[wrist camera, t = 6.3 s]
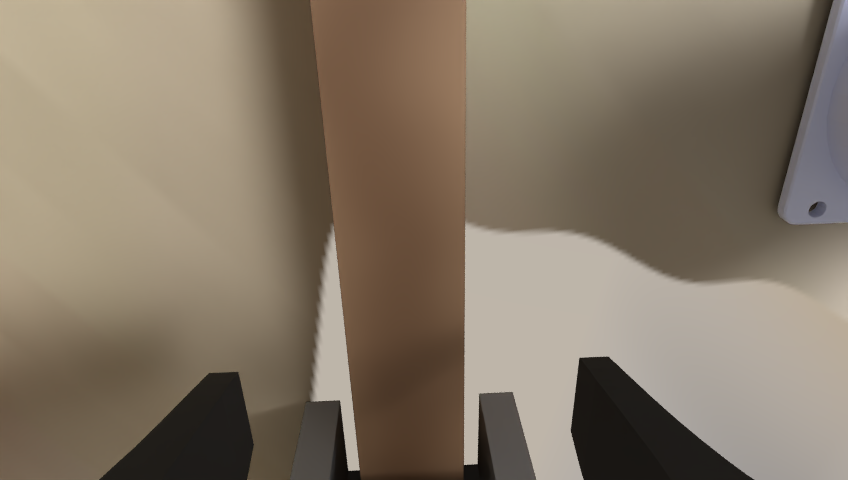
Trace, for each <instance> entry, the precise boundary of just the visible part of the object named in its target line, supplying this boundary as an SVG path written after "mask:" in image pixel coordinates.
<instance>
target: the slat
mask: <svg viewBox="0 0 848 480" xmlns="http://www.w3.org/2000/svg"><path fill="white" fill-rule="evenodd" d="M310 5H311V15H312V24H313V33H314V43H315V52H316V62H317V71H318V80H319V90H320V99H321V109H322V118H323V128H324V137H325V146H326V156H327V165H328V175H329V184H330V193H331V203H332V212H333V222H334V231H335V241H336V250H337V259H338V269H339V278H340V288H341V297H342V307H343V316H344V325H345V335H346V344H347V353H348V363H349V372H350V382H351V391H352V401H353V410H354V420H355V429H356V438H357V447H358V457H359V467H360V476H361V480H464V317H465V315H464V309H465V308H464V307H465V121H466V0H310Z"/></svg>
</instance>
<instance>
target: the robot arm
mask: <svg viewBox="0 0 848 480" xmlns="http://www.w3.org/2000/svg"><path fill="white" fill-rule="evenodd" d="M816 202H818V204H817V206H816V208H815V209H814V210H812V211H811V212H809V209H810V207H811V206H812V205H813V204H814V203H816ZM778 214H779V216H780V217H781V218H782V219H783V220H785V221H786V222H788V223H789V224H794V225H802V224H826V223H848V0H833V4H832V7H831V11H830V15H829V18H828V22H827V26H826V30H825V33H824V37H823V41H822V44H821V48H820V52H819V56H818V59H817V63H816V67H815V70H814V74H813V78H812V82H811V85H810V89H809V93H808V96H807V100H806V104H805V108H804V111H803V115H802V119H801V122H800V126H799V130H798V134H797V137H796V141H795V145H794V148H793V152H792V156H791V160H790V163H789V167H788V171H787V174H786V178H785V182H784V186H783V189H782V193H781V197H780V200H779V204H778ZM571 433H572V437H573V441H574V445H575V449H576V453H577V457H578V461H579V465H580V468H581V472H582V476H583V478H584V480H754V479H752V478H751V477H749V476H748V475H746V474H745V473H744V472H742V471H741V470H739V469H738V468H737V467H735V466H734V465H733V464H731V463H730V462H728V461H727V460H726V459H725V458H724V457H722V456H721V455H720V454H718V453H717V452H716V451H715V450H713V449H712V448H710V446H708V445H707V444H706V443H704V442H703V441H702V440H701V439H699V438H698V437H697V436H696V435H695V434H693V433H692V432H691V431H690V430H689V429H687V428H686V427H685V426H684V425H683V424H681V423H680V422H679V421H678V420H677V419H676V418H675V417H673V416H672V415H671V414H670V413H669V412H668V411H666V410H665V409H664V408H663V407H662V406H661V405H660V404H659V403H658V402H657V401H655V400H654V399H653V398H652V397H651V396H650V395H649V394H648V393H647V392H646V391H644V390H643V389H642V388H641V387H640V386H639V385H638V384H637V383H636V382H635V381H634V380H633V379H631V378H630V377H629V376H628V375H627V374H626V373H625V372H624V371H623V370H622V369H621V368H620V367H619V366H618V365H617V364H616V363H615V362H613V361H612V360H611V359H610V358H609V357H589V358H580V359H579V366H578V375H577V384H576V393H575V401H574V409H573V417H572V426H571ZM253 446H254V444H253V439H252V434H251V429H250V425H249V420H248V415H247V411H246V406H245V401H244V397H243V392H242V387H241V383H240V378H239V373H238V372H227V373H209V374H208V375H207V376H206V377H205V378H204V379H203V380H202V381H201V382H200V383H199V384H198V385H197V386H196V387H195V388H194V389H193V390H192V391H191V392H190V393H189V394H188V395H187V396H186V397H185V398H184V399H183V400H182V401H181V402H180V403H179V404H178V405H177V406H176V407H175V408H174V409H173V410H172V411H171V412H170V413H169V414H168V415H167V416H166V417H165V418H164V419H163V420H162V421H161V422H160V423H159V424H158V425H157V426H156V427H155V428H154V429H153V430H152V431H151V432H150V433H149V434H148V435H147V436H146V437H145V438H144V439H143V440H142V441H141V442H140V443H139V444H138V445H137V446H136V447H135V448H134V449H133V450H131V451H130V452H129V453H128V454H127V455H126V456H125V457H124V458H123V459H121V460H120V461H119V462H118V463H117V464H116V465H115V466H114V467H113V468H112V469H110V470H109V471H108V472H107V473H106V474H105V475H104V476H103V477H102V478H100V479H99V480H247V476H248V472H249V467H250V461H251V456H252V451H253Z"/></svg>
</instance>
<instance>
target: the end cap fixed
mask: <svg viewBox="0 0 848 480" xmlns="http://www.w3.org/2000/svg"><path fill="white" fill-rule="evenodd" d="M478 435H479V436H478V464H474V465H464V480H536V477H535V473H534V470H533V466H532V462H531V459H530V455H529V451H528V448H527V444H526V440H525V436H524V433H523V429H522V425H521V422H520V418H519V414H518V411H517V407H516V403H515V399H514V396H513V393H512V392H505V393H486V394H485V393H484V394H479V432H478ZM290 480H361V476H360V470H359V471H348V466H347V457H346V449H345V440H344V432H343V423H342V414H341V406H340V401H318V402H306V405H305V410H304V415H303V419H302V424H301V429H300V434H299V439H298V443H297V448H296V453H295V458H294V462H293V467H292V472H291V477H290Z"/></svg>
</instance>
